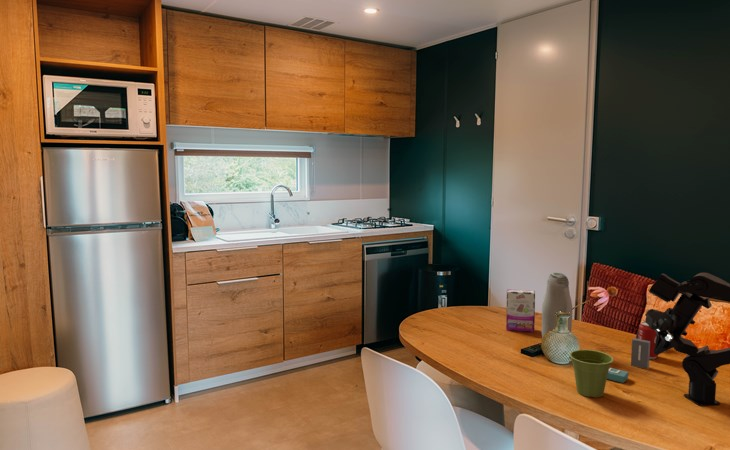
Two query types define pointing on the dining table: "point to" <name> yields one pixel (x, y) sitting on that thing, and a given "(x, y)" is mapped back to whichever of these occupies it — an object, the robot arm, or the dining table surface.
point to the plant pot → (591, 371)
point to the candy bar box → (520, 310)
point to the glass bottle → (556, 301)
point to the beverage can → (648, 337)
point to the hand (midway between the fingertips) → (655, 353)
